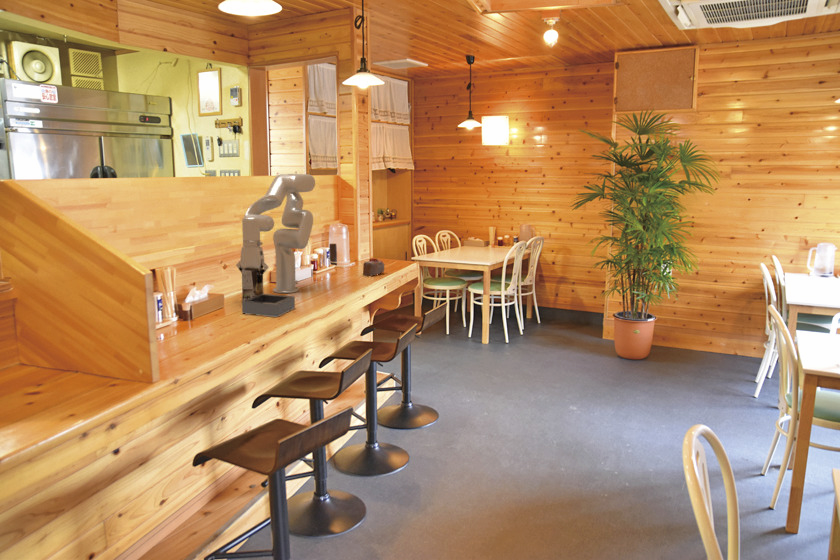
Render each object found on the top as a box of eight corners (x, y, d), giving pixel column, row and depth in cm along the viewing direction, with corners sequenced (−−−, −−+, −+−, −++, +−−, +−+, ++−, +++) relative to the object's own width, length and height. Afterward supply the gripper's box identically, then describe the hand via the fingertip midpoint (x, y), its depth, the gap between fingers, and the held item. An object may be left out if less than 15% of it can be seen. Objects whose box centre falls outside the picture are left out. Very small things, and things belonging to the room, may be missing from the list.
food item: (374, 272, 354) (374, 256, 352) (385, 273, 350) (385, 257, 348) (361, 275, 342) (361, 259, 340) (373, 277, 338) (373, 260, 336)
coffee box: (255, 305, 266) (254, 270, 263) (242, 304, 267) (240, 269, 264) (264, 301, 275) (263, 267, 272) (251, 300, 276) (250, 266, 273)
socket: (262, 305, 268) (261, 293, 266) (294, 308, 263) (294, 296, 262) (242, 313, 252) (241, 301, 251) (276, 317, 248) (276, 304, 247)
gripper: (272, 244, 267) (273, 282, 271) (239, 241, 272) (240, 279, 275) (264, 246, 260) (265, 285, 264) (229, 243, 264) (231, 282, 268)
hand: (252, 282), depth 269 cm, fingers closed on coffee box, 6 cm apart
